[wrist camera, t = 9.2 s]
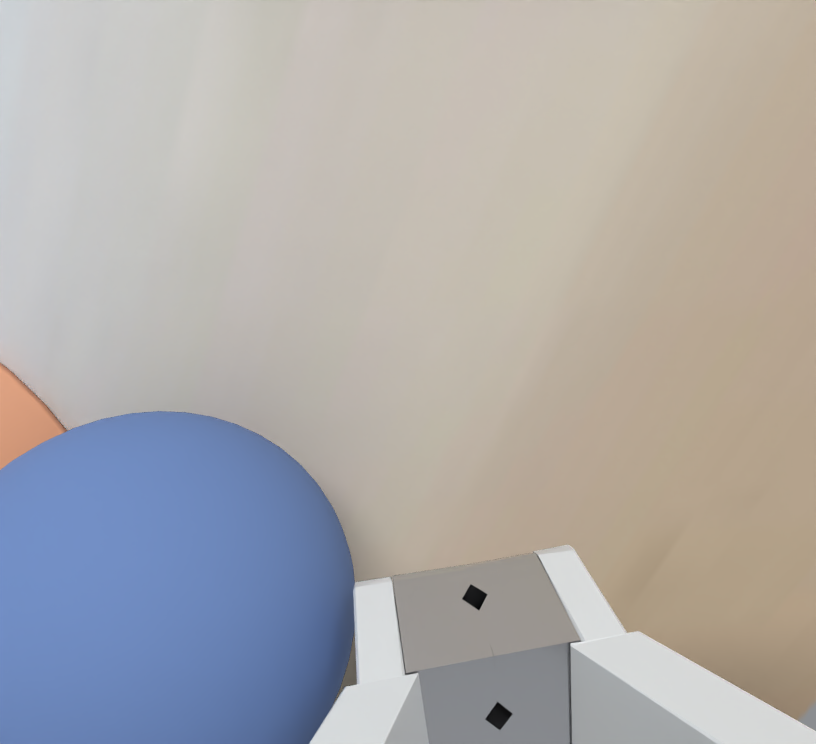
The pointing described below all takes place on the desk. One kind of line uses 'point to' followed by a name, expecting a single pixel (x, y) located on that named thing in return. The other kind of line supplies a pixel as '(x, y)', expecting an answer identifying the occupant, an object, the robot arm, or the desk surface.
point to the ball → (168, 588)
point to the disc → (22, 419)
